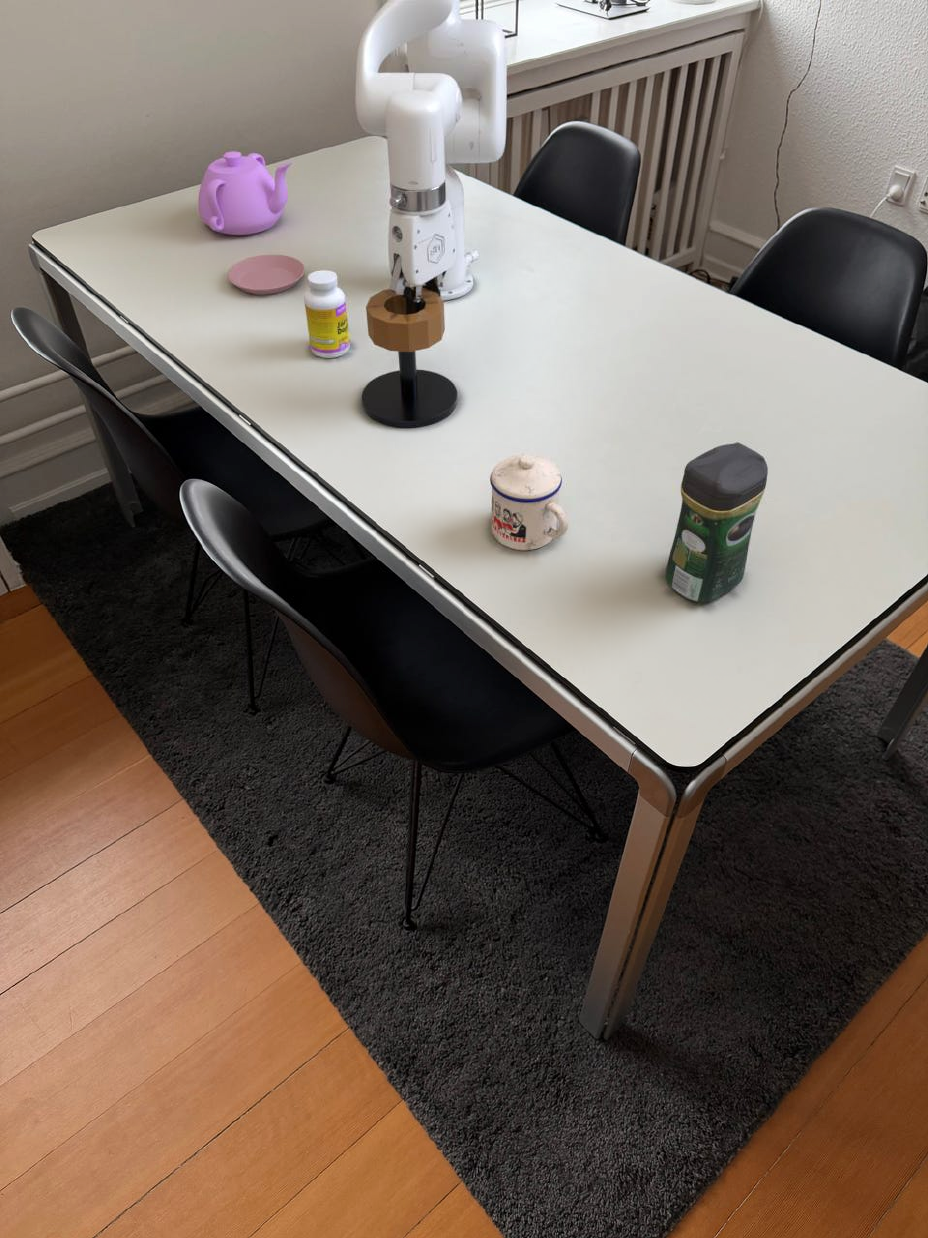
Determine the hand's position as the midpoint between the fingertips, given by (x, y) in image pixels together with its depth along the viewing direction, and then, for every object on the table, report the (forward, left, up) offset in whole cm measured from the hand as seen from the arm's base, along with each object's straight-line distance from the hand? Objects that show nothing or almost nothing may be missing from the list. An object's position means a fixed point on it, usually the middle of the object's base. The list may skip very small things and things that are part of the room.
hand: (424, 316), depth 142 cm
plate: (-11, -48, -12) cm, 51 cm away
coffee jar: (+13, +56, -12) cm, 59 cm away
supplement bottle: (0, -21, -12) cm, 24 cm away
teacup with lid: (+19, +34, -12) cm, 41 cm away
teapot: (-27, -69, -12) cm, 75 cm away
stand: (+4, 0, -12) cm, 13 cm away
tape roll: (+4, 0, -1) cm, 4 cm away
